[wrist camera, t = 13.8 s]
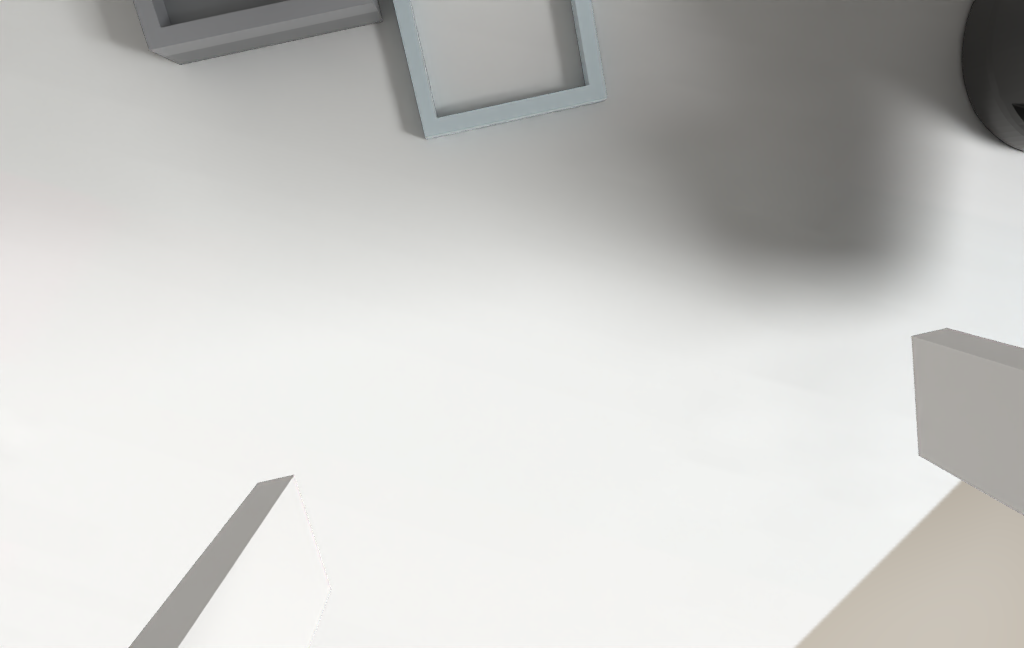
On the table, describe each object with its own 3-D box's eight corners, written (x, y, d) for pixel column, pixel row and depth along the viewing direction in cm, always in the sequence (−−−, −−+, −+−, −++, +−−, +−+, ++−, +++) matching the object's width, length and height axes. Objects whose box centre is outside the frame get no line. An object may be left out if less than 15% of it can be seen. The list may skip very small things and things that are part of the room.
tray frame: (566, -119, 35) (569, -130, 34) (603, 100, 38) (607, 97, 37) (375, -78, 35) (371, -88, 34) (426, 139, 38) (425, 137, 36)
